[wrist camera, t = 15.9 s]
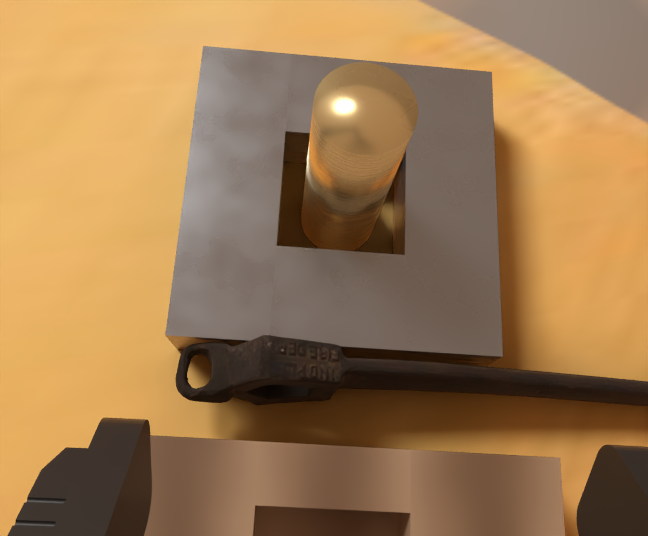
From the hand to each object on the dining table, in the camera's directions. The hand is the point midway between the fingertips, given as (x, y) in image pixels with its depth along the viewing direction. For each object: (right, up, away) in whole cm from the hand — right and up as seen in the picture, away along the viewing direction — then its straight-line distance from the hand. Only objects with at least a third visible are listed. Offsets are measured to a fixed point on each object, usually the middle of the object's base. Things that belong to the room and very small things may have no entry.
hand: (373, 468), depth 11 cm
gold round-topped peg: (0, +6, +20) cm, 20 cm away
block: (0, +6, +20) cm, 20 cm away
